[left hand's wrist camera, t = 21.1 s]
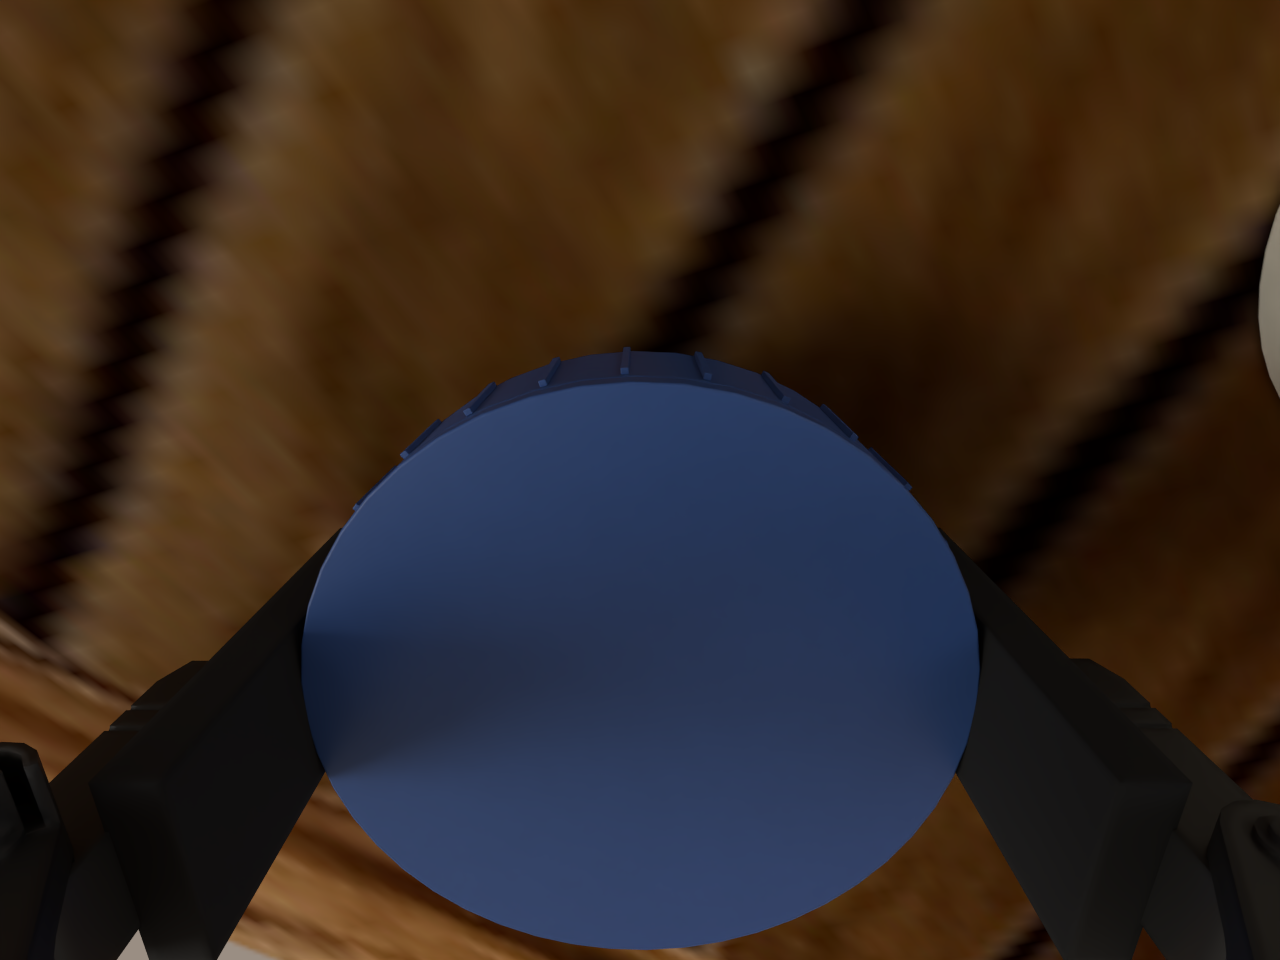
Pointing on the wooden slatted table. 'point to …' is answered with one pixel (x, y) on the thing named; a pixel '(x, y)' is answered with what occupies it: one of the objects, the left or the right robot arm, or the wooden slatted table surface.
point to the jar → (1271, 304)
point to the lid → (640, 655)
